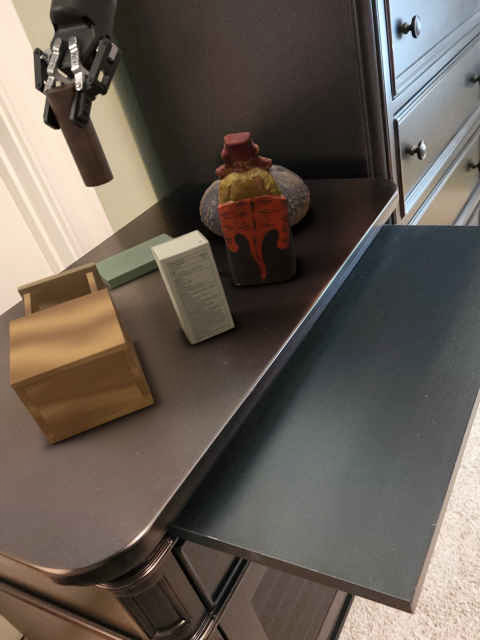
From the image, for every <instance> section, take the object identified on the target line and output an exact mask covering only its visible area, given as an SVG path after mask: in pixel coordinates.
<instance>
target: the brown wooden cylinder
mask: <svg viewBox="0 0 480 640" xmlns="http://www.w3.org/2000/svg"><path fill="white" fill-rule="evenodd" d="M74 92H78V91H77V90H76V88H75V83H70V84H65V85H56V87H53V88H51V89H48V90H46V91H45V94H46V96H47V98H48V101H49V103H50V105H51V108H52V110H53V112H54V115H55V117H56V119H57V122H58V124H59V126H60V129H59V130H60V131H61V133H62V136H63V138H64V141H65V143H66V146H67V147H68V150H69V152H70V154H71V156H72V159H73V161H74V163H75V165H76V166H75V167H76V168H77V170H78V172H79V175H80V177H81V180H82V183H83V184H84V186H85V187H87V188H95V187H100V186H103V185H106V184H108V183H111V181H113V180H114V174H113V171H112V169H111V166H110V164H109V162H108V159H107V157H106V154H105V152H104V151H105V150H104V149H103V146H102V143H101V141H100V138H99V136H98V134H97V131H96V128H95V126H94V123H93V121H92V119H91V117H90V118H89V121H88V123H87V127H86V128H79V127H77V126H76V125H74V124H73V123H72V122H71V121H70V113H71V107H72V101H73V95H74ZM46 96H45V97H46Z"/></svg>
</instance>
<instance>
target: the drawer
mask: <svg viewBox="0 0 480 640" xmlns="http://www.w3.org/2000/svg"><path fill="white" fill-rule="evenodd" d="M16 288H17V292H18V294H19V296H20V298H21V299H22V301H23V302H24V303H23V304H24V316H27V315H30V314H33V313H36V312H39V311H41V310H44V309H47V308H50V307H53V306H56V305H59V304H62V303H65V302H68V301H70V300H73V299H76V298H79V297H82V296H85V295H88V294H91V293H94V292H97V291H100V290H102V289H105V288H107V285H106V284H105V283H104V282H103V279H102V277H101V275H100V273H99V271H98V269H97V266H96V262H95V261H92V262H89V263H86V264H82V265H80V266H77V267H73V268H70V269H68V270H65V271H61V272H58V273H55V274H53V275H52V274H51V275H49V276H46V277H42V278H40V279H37V280H35V281H31V282H28V283H26V284H23V285H20V286H17V287H16Z"/></svg>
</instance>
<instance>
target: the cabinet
mask: <svg viewBox="0 0 480 640" xmlns="http://www.w3.org/2000/svg"><path fill="white" fill-rule="evenodd" d="M9 386H10V387H11V389H12V390H13V391H14V393H15V394H16V396H17V398H19V400H20V401H21V403H22V404H23V406H24V407H25V408H26V410H27V412H28V413H29V414H30V416H31V417H32V419H33V420H34V421H35V423H36V425H37V426H38V427H39V429H40V430H41V431H42V434H44V436H45V437H46V439H47V440H48V441H49V443H50V445H53V444H57V443H58V442H61V441H64V440H66V439H68V438H71V437H73V436H77V435H79V434H81V433H84V432H86V431H88V430H91V429H94V428H97V427H99V426H101V425H103V424H106V423H109V422H112V421H113V420H117V419H119V418H121V417H124V416H127V415H129V414H132V413H134V412H137V411H139V410H141V409H144V408H147V407H150V406H151V405H154V404H155V401H154V398H153V396H152V393H151V390H150V387H149V385H148V382H147V379H146V377H145V374H144V370H143V367H142V364H141V362H140V359H139V357H138V354H137V351H136V348H135V346H134V343H133V341H132V339H131V336H130V334H129V332H128V330H127V328H126V326H125V323H124V321H123V319H122V317H121V315H120V313H119V310H118V308H117V305H116V304H115V302H114V300H113V297H112V295H111V293H110V290H109V288H107V287H106V288H105V289H102V290H100V291H97V292H94V293H91V294H88V295H85V296H82V297H79V298H76V299H73V300H70V301H68V302H65V303H62V304H59V305H56V306H53V307H50V308H47V309H44V310H41V311H39V312H36V313H33V314H30V315H27V316H25V315H24V316H22V317H19V318H15V319H12V320H10V321H9Z"/></svg>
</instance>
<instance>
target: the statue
mask: <svg viewBox="0 0 480 640" xmlns="http://www.w3.org/2000/svg"><path fill="white" fill-rule="evenodd" d="M223 141H224V143H223V148H222V151H221V154H220V155H221V156H220V157H221V160H222V161H223V162H224V163H223V164H221V165H220V166H218V167H217V168H216V169H215V172H214V173H215V175H216V177H217V178H218V180H219V179H220V183H219V190H218V194H219V206H218V207H217V211H218V215H219V219H220V223H221V227H222V231H223V234H224V238H223V239H224V243H225V249H226V254H227V261H228V266H229V269H230V272H231V276H232V280H233V283H234V285H235V286H236V287H249V286H250V287H252V286H260V285H268V284H273V283H279V282H285V281H287V280H290V279H292V278H294V276H295V275H296V272H297V252H296V247H295V246H296V245H295V243H294V237H293V234H292V228H291V227H292V226H291V227H290V217H289V205H288V199H287V197H285V196H283V195H282V192H281V189H280V188H279V187H278V185H277V183H276V181H275V179H274V177H273V175H272V174H271V172H270V171H269V169H270V168H271V167H272V165H273V160H272V159H271V158H267V157H266V156H262V155H259V154H260V147H259V145H258V144H256V143H255V142H254V140H253V138H252V133H251V132H245V131H244V132H238V133H230V134H226V135H224V137H223Z"/></svg>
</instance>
